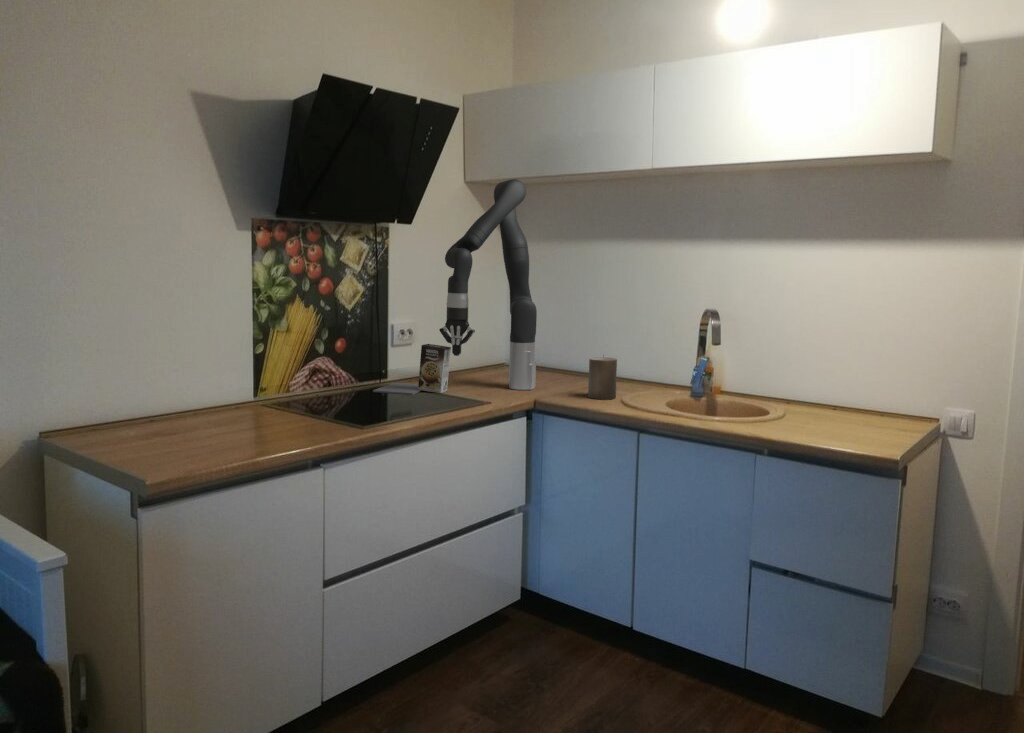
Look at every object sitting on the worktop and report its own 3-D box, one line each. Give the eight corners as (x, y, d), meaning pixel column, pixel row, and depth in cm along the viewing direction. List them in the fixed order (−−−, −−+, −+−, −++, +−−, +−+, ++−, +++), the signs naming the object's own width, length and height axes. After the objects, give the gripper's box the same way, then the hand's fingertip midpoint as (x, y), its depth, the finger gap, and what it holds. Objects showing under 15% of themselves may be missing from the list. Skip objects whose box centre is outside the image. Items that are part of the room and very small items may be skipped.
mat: (431, 386, 279) (431, 385, 279) (412, 394, 262) (412, 393, 262) (393, 384, 283) (393, 382, 283) (372, 392, 266) (372, 390, 266)
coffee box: (417, 390, 268) (420, 344, 265) (424, 387, 274) (427, 343, 271) (441, 393, 265) (444, 348, 263) (447, 390, 271) (451, 346, 269)
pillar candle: (618, 399, 259) (620, 356, 258) (590, 399, 259) (591, 356, 257) (612, 395, 269) (614, 353, 267) (585, 394, 268) (587, 353, 267)
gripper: (479, 306, 265) (477, 355, 267) (443, 304, 268) (442, 353, 271) (472, 307, 258) (471, 357, 260) (435, 305, 261) (435, 355, 264)
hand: (456, 355), depth 266 cm, fingers closed
